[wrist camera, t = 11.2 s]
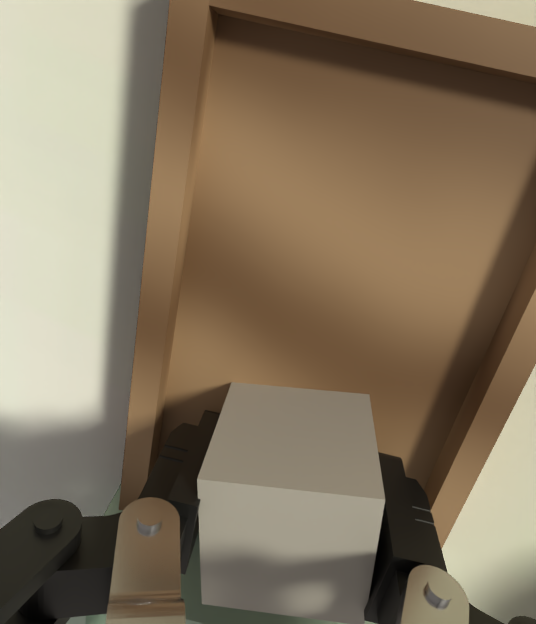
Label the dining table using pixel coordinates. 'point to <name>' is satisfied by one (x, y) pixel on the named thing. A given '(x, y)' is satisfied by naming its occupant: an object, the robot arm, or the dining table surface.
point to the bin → (199, 617)
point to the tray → (342, 225)
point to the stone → (291, 503)
